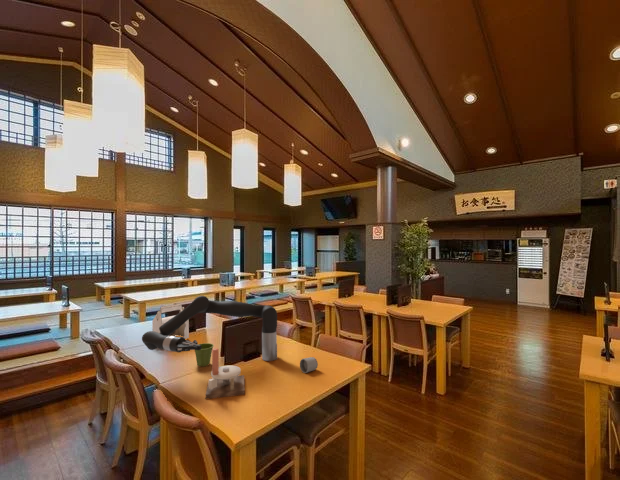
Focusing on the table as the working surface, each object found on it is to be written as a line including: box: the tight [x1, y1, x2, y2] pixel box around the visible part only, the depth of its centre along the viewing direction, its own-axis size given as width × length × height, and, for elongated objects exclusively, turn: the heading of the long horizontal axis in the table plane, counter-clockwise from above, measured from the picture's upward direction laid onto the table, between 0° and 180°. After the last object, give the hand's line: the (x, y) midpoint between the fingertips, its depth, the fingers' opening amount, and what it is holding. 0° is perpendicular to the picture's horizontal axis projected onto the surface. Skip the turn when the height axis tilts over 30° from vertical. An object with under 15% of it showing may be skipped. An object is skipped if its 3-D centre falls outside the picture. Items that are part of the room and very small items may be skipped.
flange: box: [208, 348, 242, 389], centre depth 155 cm, size 15×14×17 cm
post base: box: [204, 374, 245, 400], centre depth 155 cm, size 18×18×8 cm
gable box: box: [151, 303, 190, 339], centre depth 233 cm, size 22×13×28 cm, turn 145°
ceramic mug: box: [299, 356, 319, 374], centre depth 176 cm, size 11×8×8 cm
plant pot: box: [194, 342, 215, 367], centre depth 187 cm, size 12×12×11 cm
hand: (200, 347), depth 155 cm, fingers closed
